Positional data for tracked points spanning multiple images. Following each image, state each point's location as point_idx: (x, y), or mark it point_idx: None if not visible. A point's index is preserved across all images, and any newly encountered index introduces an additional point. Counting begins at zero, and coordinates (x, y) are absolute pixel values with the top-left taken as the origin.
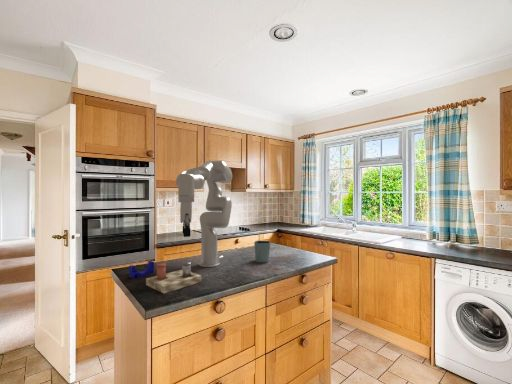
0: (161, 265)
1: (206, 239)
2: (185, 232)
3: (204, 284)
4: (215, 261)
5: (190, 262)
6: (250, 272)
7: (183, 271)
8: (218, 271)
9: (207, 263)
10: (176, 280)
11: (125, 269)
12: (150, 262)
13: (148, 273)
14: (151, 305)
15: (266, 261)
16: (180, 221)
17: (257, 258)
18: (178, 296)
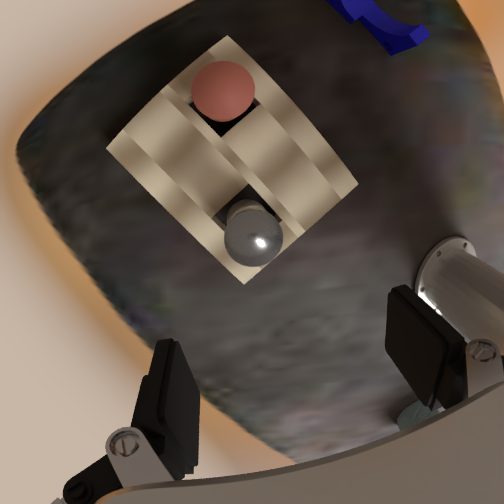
0: (201, 95)
1: (500, 326)
2: (139, 396)
3: (209, 287)
4: (435, 307)
5: (254, 261)
6: (318, 406)
7: (232, 212)
8: (359, 319)
9: (432, 277)
10: (181, 182)
11: None
12: (412, 31)
13: (375, 35)
14: (31, 144)
15: (397, 424)
16: (295, 483)
17: (412, 413)
18: (90, 210)
